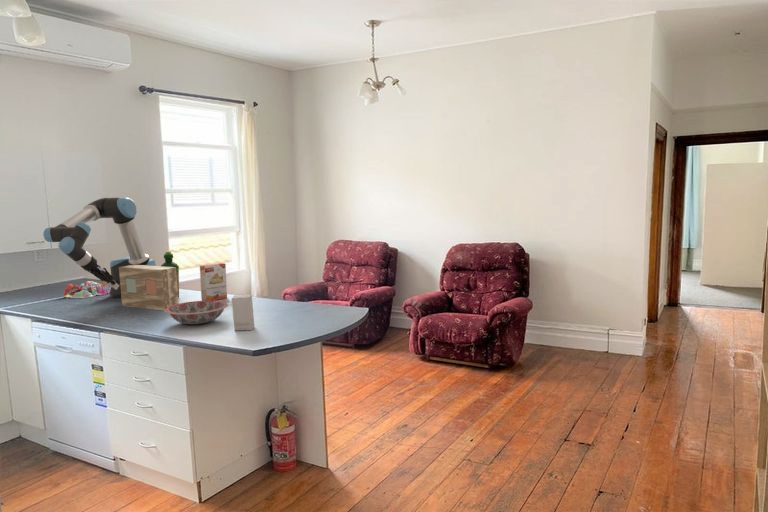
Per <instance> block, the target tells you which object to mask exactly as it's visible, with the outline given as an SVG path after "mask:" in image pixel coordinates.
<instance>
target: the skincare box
mask: <svg viewBox="0 0 768 512" xmlns="http://www.w3.org/2000/svg"><path fill="white" fill-rule="evenodd" d="M231 305H232V306H231V307H232V318H233V327H234V331H235V330H246V331H253V329H254V328H255V316H254V315H255V314H254V307H253V295H252V294H241V295H240V294H237V295H234V296H232V298H231Z"/></svg>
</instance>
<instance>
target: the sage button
mask: <svg viewBox="0 0 768 512" xmlns="http://www.w3.org/2000/svg"><path fill="white" fill-rule="evenodd" d="M126 287H127V292H129V293H137V288H136V278H126Z"/></svg>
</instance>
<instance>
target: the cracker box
mask: <svg viewBox="0 0 768 512" xmlns="http://www.w3.org/2000/svg"><path fill="white" fill-rule="evenodd" d="M226 265H227V264H226V263H224V262H216V263H210V264H201V265H199V274H200V275H199V279H200V296H201V297H200V298H201V301H220V300H224V299H228V290H227V289H228V288H227V286H228V285H227V266H226Z"/></svg>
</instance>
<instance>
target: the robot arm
mask: <svg viewBox="0 0 768 512" xmlns="http://www.w3.org/2000/svg"><path fill="white" fill-rule="evenodd" d="M136 215H137V205H136V202H134V200H133V199H132V198H130V197H123V196H120V197H102V198H98V199H96V200H94V201H92V202H90V203H88V204H86V205H84V206H83V208H82V210H80V211H78V212H77V213H75V214H73V215H72V216H71V217H69V218H67V219H65V220H64V221H63V222H61V223H59V224H58V225H55V226H53V227H52V226H50V227H46V228H44V230H43V235H42V236H43V239H44V240H45V241H46V242H48V243H58V245H57V247H58V248H59V250H60V251H62V253H63V254H65V255H66V256H67V257H68V258H69V259H71V260H72V261H74V263H75V264H76V265H78V266H80V268H81V269H83V270H84V271H87V272H88V273H90V274H92V275H93V276H94V277H96V278H97V279H98V280H100V281H101V282H102V281H105V282H106V283H108V284H109V287H110V289H109V291H110V293H109V297H110V298H116V299H117V298H121V287H120V275H119V267H123V266H129V265H146V266H157V265H156V261H155V259H152V258H151V259H150V256H149V255H148V254H147V253H145V249H144V248H143V244H142V242H141V239H140V235H139V233H138V230H137V228H136V225H135V221H134V220H135V218H136ZM99 219H112V220H113V223H114V224H116V225H117V226H118V230H119V231H120V234H121V237H122V239H123V243H124V246H125V247H126V250H127V253H128V256H127V257H122V258H115V259H112V260H111V261H110V262H109V268H110V273H109V271H108V270H107V268H105V267H101V266H100V265H99V264H98V260H97V259H96V258H95V257H94V256H93V255H92V254H91V253H89V251H87V250H86V249H85V248H84V247H83V246H84V244H85V243H86V242H87V239H88V238H89V236H90V233H91V231H92V228H91V225H89V223H91V222H94V221H97V220H99Z"/></svg>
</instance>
